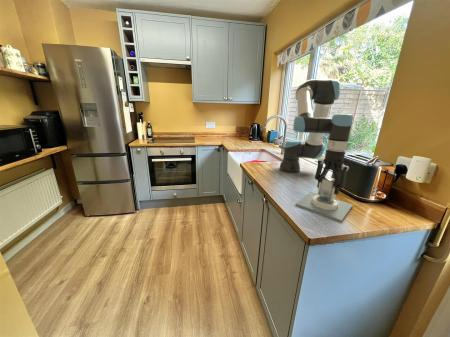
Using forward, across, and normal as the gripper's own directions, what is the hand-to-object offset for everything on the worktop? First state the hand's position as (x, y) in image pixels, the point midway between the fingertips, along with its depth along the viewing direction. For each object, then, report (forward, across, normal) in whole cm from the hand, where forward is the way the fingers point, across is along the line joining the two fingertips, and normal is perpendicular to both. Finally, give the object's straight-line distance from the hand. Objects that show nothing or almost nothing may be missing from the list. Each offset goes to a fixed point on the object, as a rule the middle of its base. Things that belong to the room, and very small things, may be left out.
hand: (325, 197), depth 91 cm
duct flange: (+5, 0, 0) cm, 5 cm away
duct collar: (+1, 0, 0) cm, 1 cm away
